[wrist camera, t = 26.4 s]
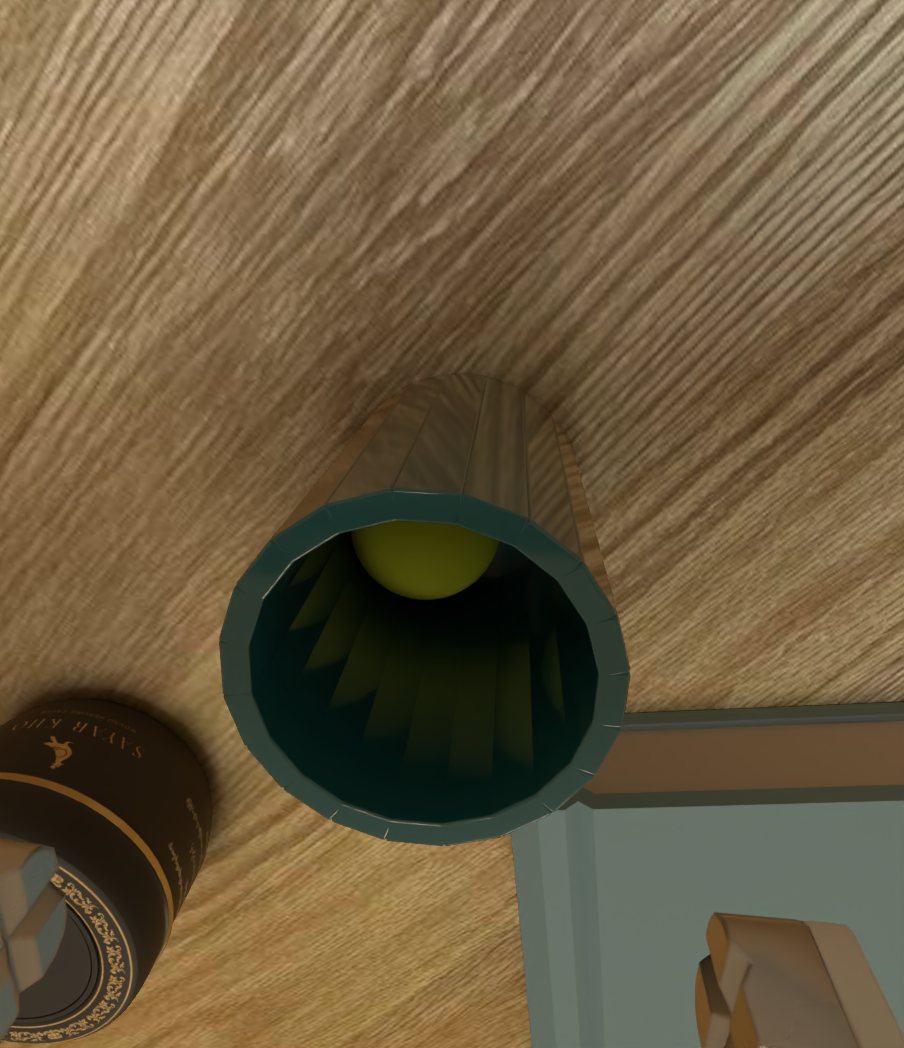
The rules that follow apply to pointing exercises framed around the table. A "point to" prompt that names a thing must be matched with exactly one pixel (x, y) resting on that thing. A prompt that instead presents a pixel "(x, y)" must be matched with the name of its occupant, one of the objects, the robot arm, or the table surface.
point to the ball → (423, 557)
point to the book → (708, 861)
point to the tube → (433, 629)
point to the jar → (102, 851)
